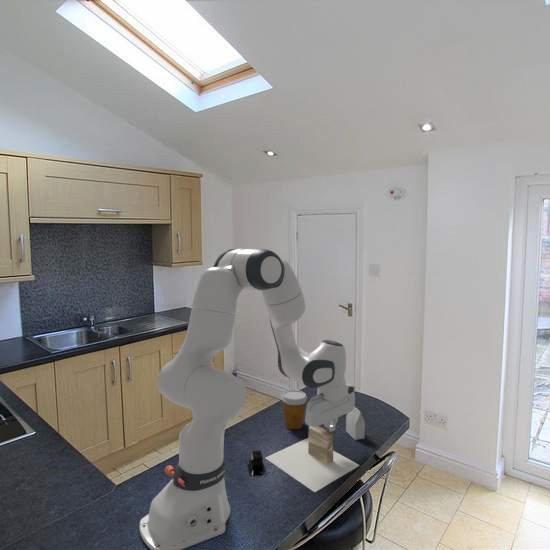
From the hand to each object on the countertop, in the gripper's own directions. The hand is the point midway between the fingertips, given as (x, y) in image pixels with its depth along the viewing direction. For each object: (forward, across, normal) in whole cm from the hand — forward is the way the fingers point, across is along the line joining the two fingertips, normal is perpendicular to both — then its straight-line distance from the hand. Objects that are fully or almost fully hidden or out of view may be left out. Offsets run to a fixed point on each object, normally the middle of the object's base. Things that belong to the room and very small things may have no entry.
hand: (330, 431), depth 132 cm
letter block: (+7, -4, 0) cm, 9 cm away
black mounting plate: (+8, -23, +9) cm, 26 cm away
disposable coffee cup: (+8, +4, +21) cm, 23 cm away
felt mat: (+8, -8, 0) cm, 11 cm away
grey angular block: (+8, +16, +2) cm, 18 cm away
